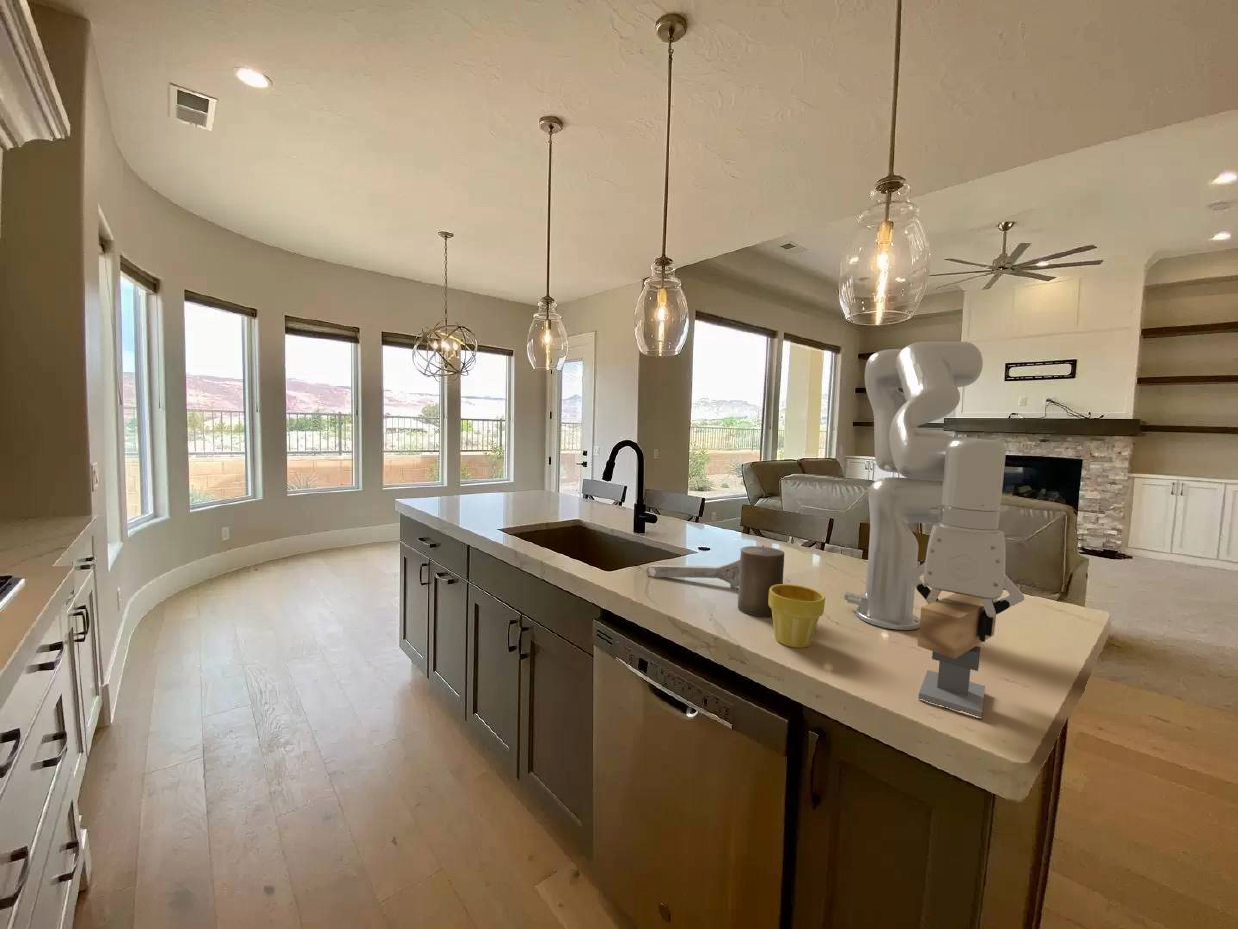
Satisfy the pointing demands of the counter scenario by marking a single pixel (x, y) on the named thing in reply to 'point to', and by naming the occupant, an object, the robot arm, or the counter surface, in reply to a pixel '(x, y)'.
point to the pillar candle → (758, 578)
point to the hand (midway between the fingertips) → (957, 632)
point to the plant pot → (795, 613)
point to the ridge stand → (955, 683)
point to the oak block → (952, 625)
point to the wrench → (700, 572)
